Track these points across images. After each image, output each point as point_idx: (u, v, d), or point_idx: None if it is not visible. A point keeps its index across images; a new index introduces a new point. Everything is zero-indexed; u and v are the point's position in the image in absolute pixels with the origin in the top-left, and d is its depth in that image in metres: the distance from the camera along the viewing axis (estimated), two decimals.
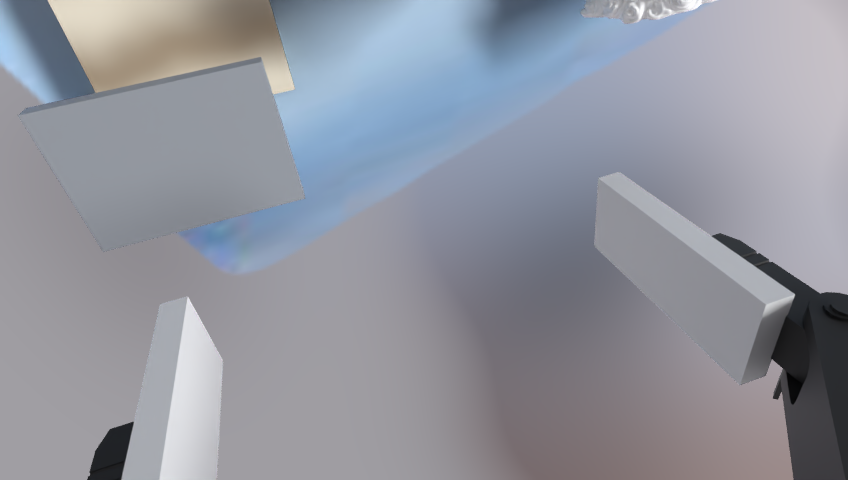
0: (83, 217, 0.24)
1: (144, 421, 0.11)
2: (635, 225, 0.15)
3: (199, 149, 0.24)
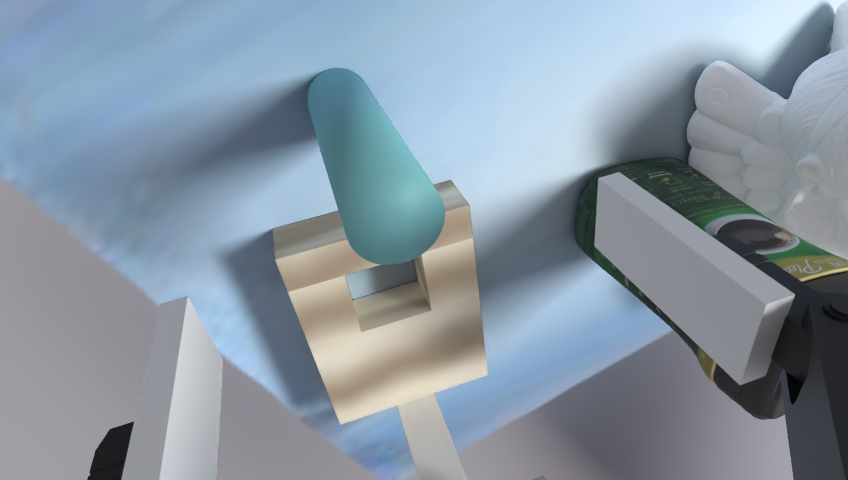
0: None
1: (144, 421, 0.11)
2: (634, 225, 0.15)
3: None
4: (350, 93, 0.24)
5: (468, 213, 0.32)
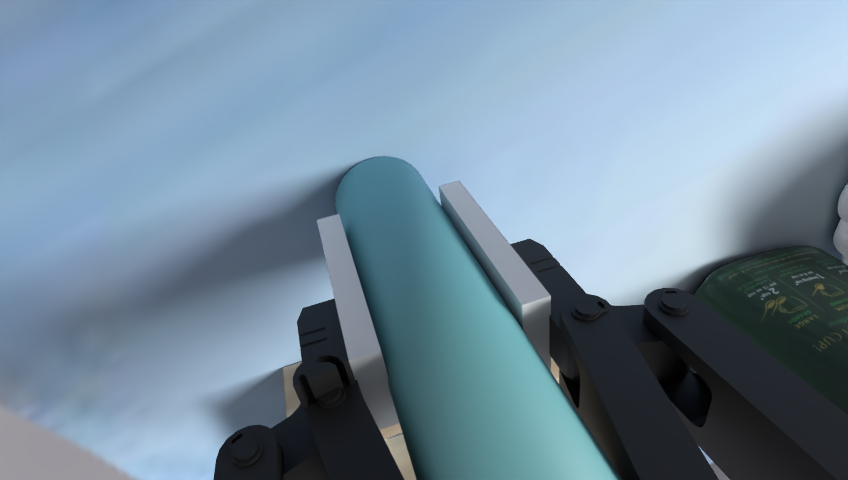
0: None
1: (342, 294, 0.13)
2: (460, 230, 0.16)
3: None
4: (414, 218, 0.15)
5: None
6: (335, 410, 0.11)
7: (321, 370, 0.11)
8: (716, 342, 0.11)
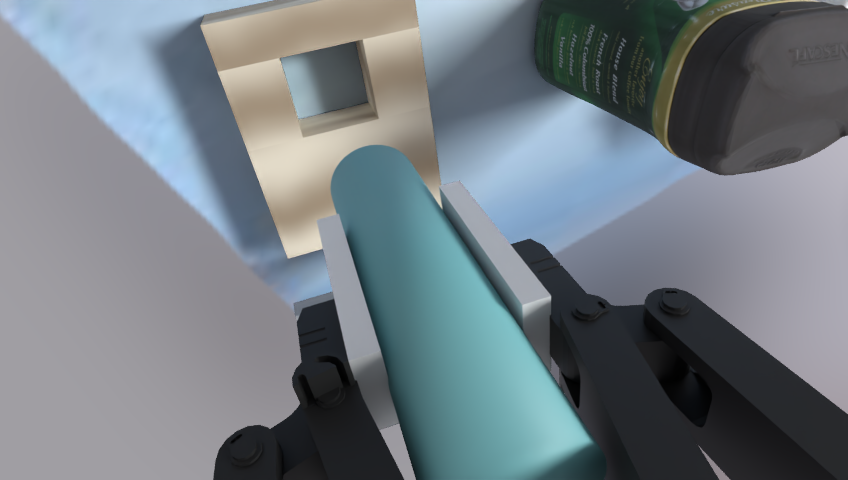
0: None
1: (342, 294, 0.13)
2: (460, 230, 0.16)
3: None
4: (401, 199, 0.16)
5: None
6: (335, 410, 0.11)
7: (321, 370, 0.11)
8: (716, 342, 0.11)
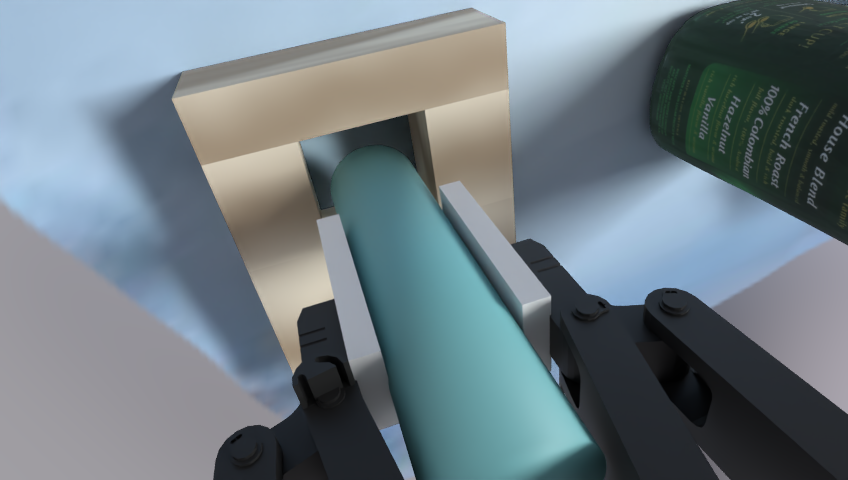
0: None
1: (342, 294, 0.13)
2: (460, 230, 0.16)
3: None
4: (401, 199, 0.16)
5: (503, 40, 0.19)
6: (335, 410, 0.11)
7: (321, 370, 0.11)
8: (716, 342, 0.11)
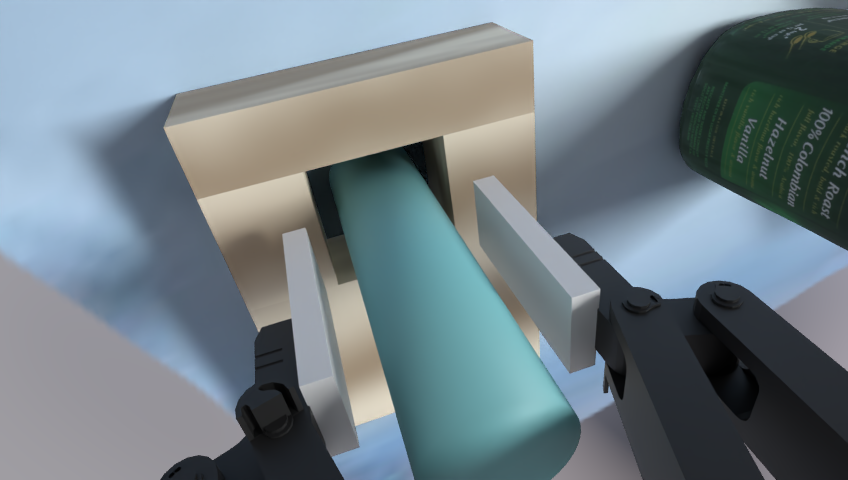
0: None
1: (300, 314, 0.13)
2: (497, 225, 0.16)
3: None
4: (396, 186, 0.17)
5: (529, 59, 0.17)
6: (283, 439, 0.10)
7: (265, 398, 0.10)
8: (768, 336, 0.10)
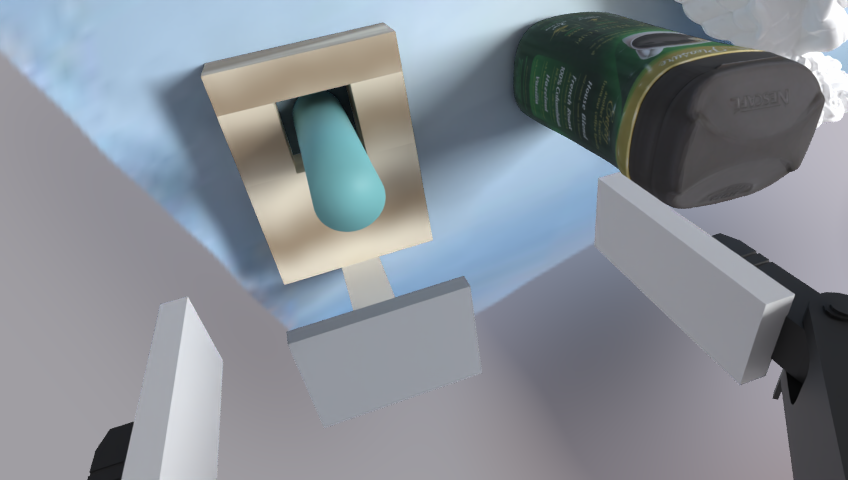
0: (316, 406, 0.29)
1: (144, 421, 0.11)
2: (634, 225, 0.15)
3: (411, 350, 0.29)
4: (323, 109, 0.32)
5: (395, 41, 0.32)
6: None
7: None
8: None
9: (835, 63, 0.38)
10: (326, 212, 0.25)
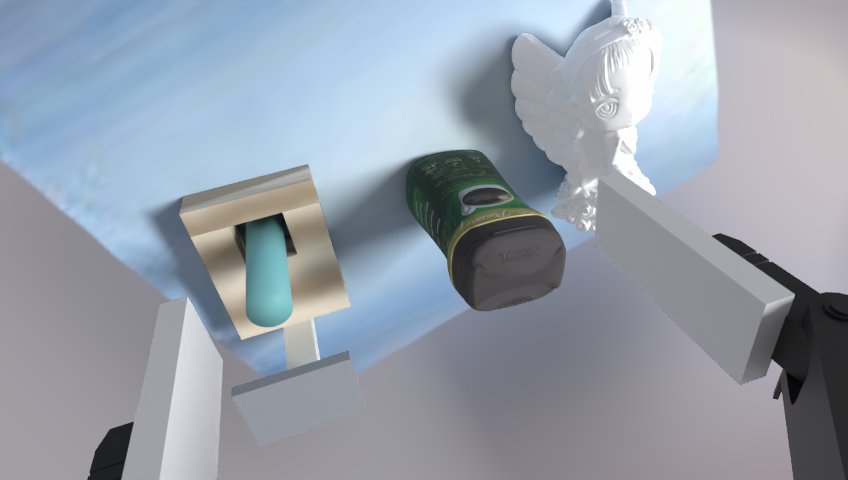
0: (252, 433, 0.44)
1: (144, 421, 0.11)
2: (634, 225, 0.15)
3: (315, 397, 0.44)
4: (262, 232, 0.47)
5: (312, 185, 0.47)
6: None
7: None
8: None
9: (641, 180, 0.54)
10: (254, 317, 0.41)
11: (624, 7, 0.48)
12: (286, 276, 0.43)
